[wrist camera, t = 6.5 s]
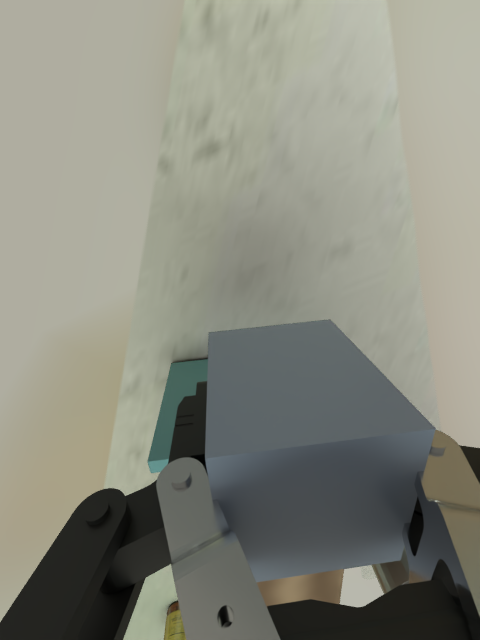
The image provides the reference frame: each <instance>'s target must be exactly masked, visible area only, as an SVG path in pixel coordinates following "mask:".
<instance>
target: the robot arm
mask: <svg viewBox="0 0 480 640" xmlns="http://www.w3.org/2000/svg"><path fill="white" fill-rule="evenodd" d="M206 407H207V381H202V382H197V385H196V395H193V396H185V397H184V398H183V399H182V401H181V402H180V404H179V405H178V408H177V414H176V419H175V427H174V431H173V437H172V443H171V449H170V455H169V461H168V465H166V466H165V467H164V468H163V470H162V471H161V472H160V474H159V476H158V478H157V480H156V481H155V482H154V483H152V484H151V485H149V486H147V487H145V488H143V489H141V490H139V491H136V492H134V493H132V494H129V495H127V496H125V495H124V494H123V492H121V491H120V490H118V489H114V488H108V489H103V490H100V491H98V492H96V493H94V494H92V495H90V496H89V497H87V498H86V499H85V500H84V501H83V502H82V503H81V504H80V505H79V506H78V507H77V508H76V510H75V511H74V513H73V514H72V515H71V517H70V519H69V520H68V521H67V523H66V525H65V526H64V528H63V529H62V531H61V532H60V533H59V535H58V536H57V538H56V539H55V541H54V542H53V544H52V546H51V547H50V549H49V550H48V552H47V553H46V555H45V556H44V557H43V559H42V560H41V562H40V564H39V565H38V567H37V568H36V570H35V571H34V573H33V574H32V576H31V577H30V579H29V580H28V582H27V583H26V585H25V586H24V588H23V589H22V591H21V592H20V594H19V595H18V597H17V598H16V600H15V601H14V603H13V604H12V606H11V607H10V609H9V610H8V612H7V613H6V615H5V616H4V618H3V619H2V621H1V622H0V640H123V638H124V635H125V633H126V630H127V627H128V624H129V622H130V619H131V616H132V613H133V611H134V608H135V605H136V603H137V600H138V597H139V594H140V592H141V589H142V586H143V583H144V581H145V578H146V577H148V576H149V575H151V574H153V573H155V572H157V571H158V570H160V569H162V568H164V567H166V566H168V565H169V564H171V566H172V572H173V577H174V582H175V587H176V592H177V597H178V602H179V607H180V612H181V617H182V621H183V626H184V631H185V636H186V640H480V448H474V447H466V446H460V445H458V444H457V442H456V441H455V440H453V439H452V438H451V437H450V436H448V435H446V434H445V433H443V432H441V431H438V430H435V433H434V437H433V441H432V444H431V448H430V452H429V456H428V459H427V463H426V467H425V471H418V472H417V476H416V480H415V484H414V485H415V489H416V492H417V495H418V497H417V501H416V504H415V508H414V512H413V516H412V519H411V522H410V523H404V527H403V531H402V536H403V541H404V545H405V546H404V549H403V553H402V557H401V560H399V561H393V562H386V563H380V564H373V565H372V567H373V570H374V572H375V574H376V577H377V579H378V581H379V583H380V586H381V588H382V590H383V593H384V595H383V596H381V597H379V598H377V599H376V600H374V601H373V602H371V603H369V604H367V605H366V606H364V607H358V608H357V607H351V606H346V605H340V604H335V603H329V602H324V601H318V600H313V599H308V600H302V601H296V602H289V603H283V604H276V605H270V606H267V607H266V604H265V602H264V599H263V597H262V595H261V592H260V590H259V588H258V585H257V583H256V581H255V578H254V576H253V573H252V571H251V569H250V566H249V564H248V562H247V559H246V557H245V555H244V552H243V550H242V548H241V545H240V543H239V541H238V538H237V536H236V534H235V533H234V531H233V530H230V528H229V526H228V524H227V522H226V519H225V517H224V515H223V512H222V510H221V507H220V505H219V502H218V500H217V499H215V500H212V496H211V490H210V484H209V479H208V473H207V468H206V462H205V440H206Z"/></svg>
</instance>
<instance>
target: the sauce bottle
mask: <svg viewBox="0 0 480 640" xmlns="http://www.w3.org/2000/svg"><path fill="white" fill-rule="evenodd" d="M164 640H186V636H185V631H184V626H183V621H182V617H181V612H180V607H179V602H175V603H173V604H172V605H171V606H170V607H169V609H168V612H167V619H166V626H165V635H164Z"/></svg>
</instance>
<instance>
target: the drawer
mask: <svg viewBox="0 0 480 640" xmlns="http://www.w3.org/2000/svg"><path fill="white" fill-rule="evenodd" d="M207 374H208V359H205V360H196V361H187V362H179V363H171V367H170V371H169V375H168V379H167V384H166V388H165V392H164V396H163V400H162V404H161V408H160V413H159V417H158V421H157V425H156V429H155V433H154V437H153V442H152V446H151V450H150V454H149V458H148V465H149V468H150V472H151V473H156V472H161V471H162V470H163V468H164V467H165V466H166V465H168V461H169V455H170V449H171V443H172V437H173V431H174V427H175V419H176V414H177V408H178V405H179V404H180V402H181V401H182V399H183V398H184V397H185V396H193V395H196V385H197V382H202V381H207Z"/></svg>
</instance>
